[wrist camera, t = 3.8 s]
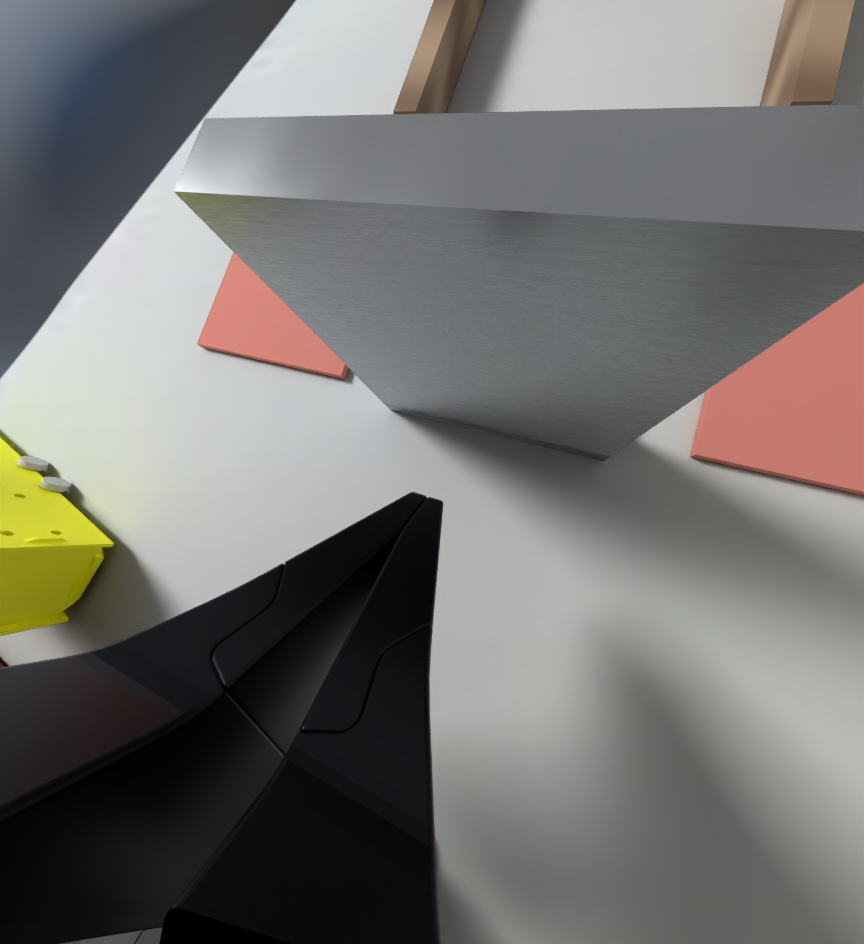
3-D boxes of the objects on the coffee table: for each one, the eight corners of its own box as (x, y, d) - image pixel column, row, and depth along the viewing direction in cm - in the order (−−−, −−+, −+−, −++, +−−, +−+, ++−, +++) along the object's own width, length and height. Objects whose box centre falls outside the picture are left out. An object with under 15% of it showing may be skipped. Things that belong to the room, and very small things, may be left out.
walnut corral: (776, 174, 14) (832, 100, 12) (408, 165, 18) (393, 111, 16) (838, -96, 15) (901, -212, 13) (481, -42, 20) (478, -121, 17)
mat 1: (344, 379, 17) (340, 375, 17) (202, 347, 20) (196, 344, 19) (402, 212, 18) (400, 205, 18) (260, 203, 21) (255, 197, 20)
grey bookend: (602, 461, 14) (932, 235, 3) (390, 409, 16) (173, 191, 6) (668, 212, 15) (1076, -582, 4) (459, 201, 17) (387, -307, 7)
